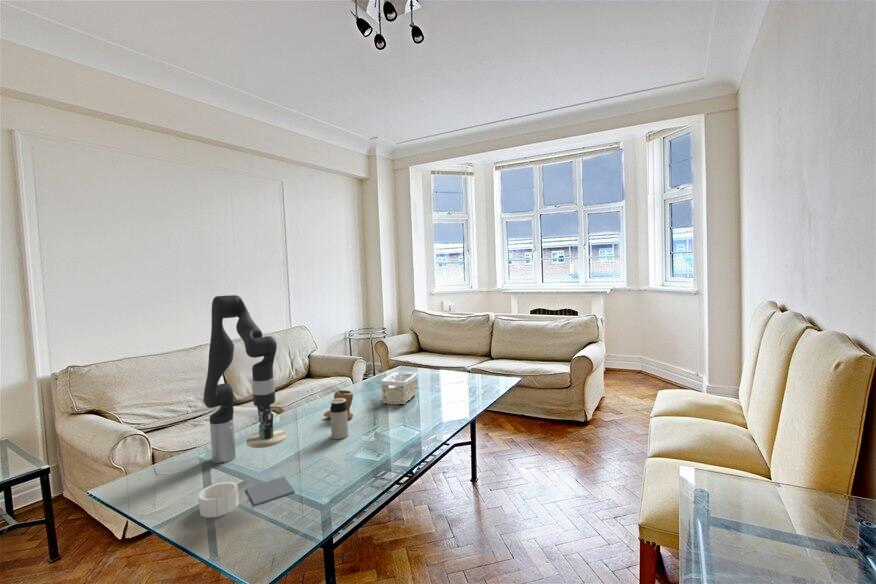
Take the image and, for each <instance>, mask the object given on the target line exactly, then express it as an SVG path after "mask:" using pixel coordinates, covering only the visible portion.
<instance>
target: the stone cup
mask: <svg viewBox="0 0 876 584" xmlns="http://www.w3.org/2000/svg"><path fill="white" fill-rule="evenodd" d="M336 398H344V399H346V402H345V404H346V405H347V419H348V420H349V419H352V418H353V417H354V414H353V413H352V412H351V410H350V409H351V405H352V403H353V399H354V394H353V392H352V391H351V390H345V389H343V390H342V389H337V390H336V391H335V392H334V396H333V399H336ZM323 416H324V417H326V418H328V419H329V418H330V419H331V413H330V410H328V411H326V412H324V413H323Z"/></svg>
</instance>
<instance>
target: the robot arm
mask: <svg viewBox="0 0 876 584" xmlns="http://www.w3.org/2000/svg"><path fill="white" fill-rule="evenodd" d="M232 318H238V320H237V321H236V333H237V334H238V335H239V337H240V339H242V340H243V343H244V349H245V353H246V355H247V356H248V357H250V358H253V359H254V358H255V359H256V358H261V357H262V360H261V361H258V362H256V363H254V364H253V365H252V366H251V372H252V402H253V406H255V407H256V408H257V413H258V414H257V415H258V416H257V417H258V421H259V425H260V424H264V435H265V439H269V438H271V428H273V429H274V413H273V410H272V408H271V406H272V405H273V404H275V402H276V390H275V389H276V388H275V380H274V370H273V369H274V368H273V367H274V364H275V363H274V361H275V358H276V353H277V348H278V346H277V341H276V339H275V338H274V337H273V336H270V335H267V336H263V333H262V330H261V329H260V328H259V326H258V325H257V324H256V323H255V321H254V320H253V318H252V317H251V315H250V312H249V310H248V308H247V306H246V305H245V302H244V301H243V298H242V297H241V296H239V295H237V294H236V295H235V294H234V295H217V296H214V298H213V299H212V301H211V330H210V331H211V332H210V341H209V350H208V363H207V375H206V380H205V385H204V390H203V402H204V406H205V407H206V408H208V409H213V408H218V407H219V408H218V409H217V410H216V411H215V412H213V413H211V414H210V416H209V430H210V432H209V433H210V444H211V459H212V460H211V461H212V462H213V463H214V464H222V463H221V462H224V463H227V462H230V461H233V460H234V459H235V458H236V440H235V438H236V437H235V425H234V409H235V408H234V390H233V387H232V385H231V384H230V383H229V382H224V383H220V379H221V377H222V376H223V374H225V372H226V371H227V369H228V368H229V367H230V366H231V363H232V362H233V359H234V350H235V345H234V342H233V341H232V339H231V337H230V336H229V334H228V333H227V331H226V330H225V328H224V325H223V321H224V319H232ZM219 383H220V384H219ZM267 424H269V425H267Z"/></svg>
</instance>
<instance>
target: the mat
mask: <svg viewBox="0 0 876 584" xmlns="http://www.w3.org/2000/svg"><path fill="white" fill-rule="evenodd" d="M245 490H246V492H247V495H248V496H249V498H250V500H251V501H252V504H253V506H254V507H255V506H258V505H260V504H265V503H268V502H271V501H272V500H276V499H279V498H282V497H283V498H284V497H285V496H288V494H289V495H290V493H292V494H294V493H295V492H296V490H295V489H294V488H293V486H292V485H291V484H290V483H289V481H288V480H287V479H286V477H285V476H280V477H277V478H275V479H271V480H268V481H264V482H262V483H258V484H255V485H252V486H251V485H250V486H247V487H245ZM293 492H294V493H293Z"/></svg>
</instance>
